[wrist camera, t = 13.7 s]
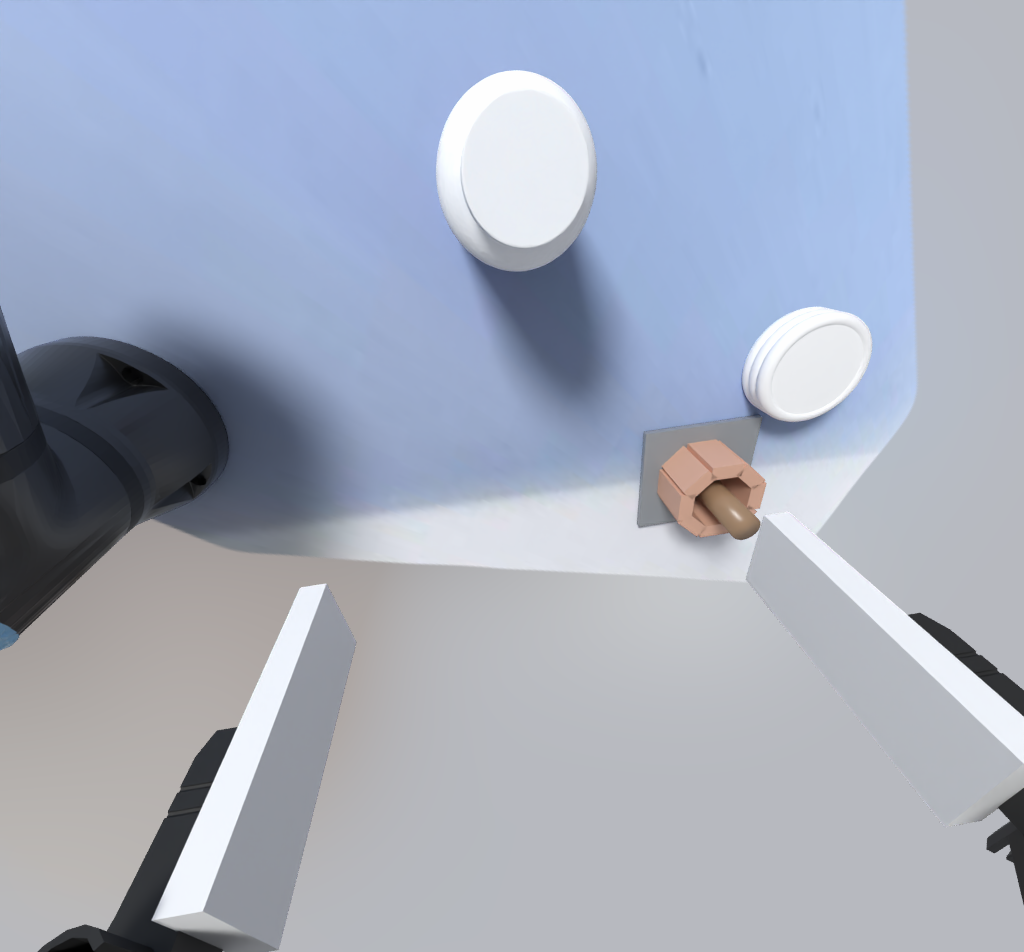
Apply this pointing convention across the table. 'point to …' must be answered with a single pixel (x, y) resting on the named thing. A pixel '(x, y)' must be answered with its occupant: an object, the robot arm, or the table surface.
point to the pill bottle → (516, 170)
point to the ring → (706, 484)
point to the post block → (715, 496)
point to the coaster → (806, 363)
